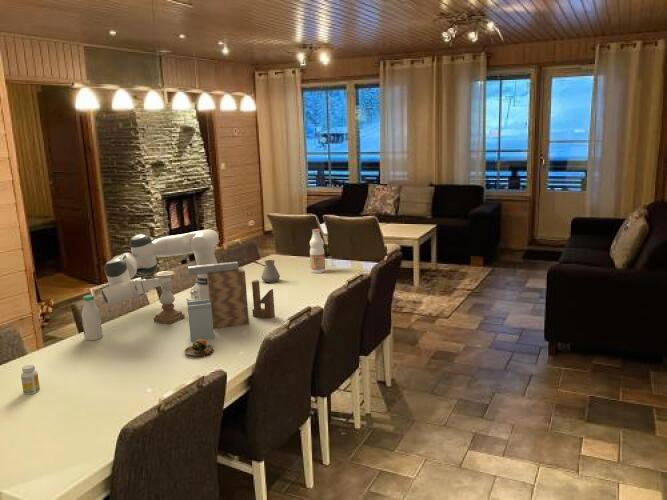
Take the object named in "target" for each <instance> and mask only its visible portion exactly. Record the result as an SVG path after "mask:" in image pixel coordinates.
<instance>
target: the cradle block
mask: <svg viewBox="0 0 667 500" xmlns="http://www.w3.org/2000/svg"><path fill="white" fill-rule="evenodd" d="M186 303H187V305H186V306H187V312H188V313H187V314H188V325H189V334H190V335H189V336H190V342H196V341H197V340H198V339H204V340H209V339H210V340H211V339H215V334H214V329H213V320H212V309H211V303H210V299H206V300H198V301H187V302H186Z"/></svg>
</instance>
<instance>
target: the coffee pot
mask: <svg viewBox="0 0 667 500" xmlns="http://www.w3.org/2000/svg"><path fill="white" fill-rule="evenodd" d="M247 260H248V261H250V262H252V263H254V264H257V265H261V266H263V267H264V269H263V271H262V275H261V278H260V279H261V280H262V281H263V282H264V283H266V282H273V283H277V282H278V281H279V280H280V277H281V275H280V273H279V271H278V269H277V267H276V265H275V262H276V261H275V260H274V259H268V260H264V264H263V263H260V262H258V261H256V260H254V259H251V258H249V257H246V258H245V259H244V262H246V261H247ZM276 281H277V282H276Z"/></svg>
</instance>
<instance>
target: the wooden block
mask: <svg viewBox="0 0 667 500" xmlns="http://www.w3.org/2000/svg"><path fill="white" fill-rule="evenodd" d="M260 287H261V286H260V279H259V280H257V279H255V280H251V288H252V299H253V300H252V301H253V308H252V317H256V318H266V319H272V318H274V317H275V316H276V314H275V313H276V312H275V299H274V288H271V289H269V291H268V292H267V293H265V295H264V296H263V297H261V288H260ZM262 304H263V305H264V308H263V307H262Z"/></svg>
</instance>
